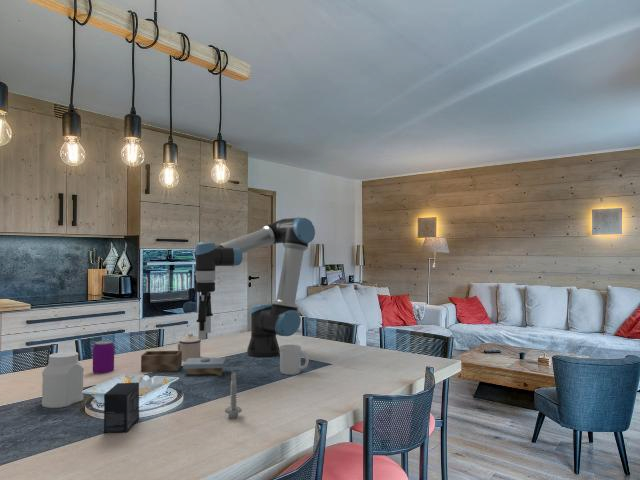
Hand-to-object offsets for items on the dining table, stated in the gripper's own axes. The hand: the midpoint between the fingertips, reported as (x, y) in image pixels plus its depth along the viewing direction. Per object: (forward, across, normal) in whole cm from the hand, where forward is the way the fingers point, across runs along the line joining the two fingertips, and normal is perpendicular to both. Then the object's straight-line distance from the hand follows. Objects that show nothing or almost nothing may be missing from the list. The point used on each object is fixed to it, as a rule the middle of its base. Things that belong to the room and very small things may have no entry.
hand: (204, 335), depth 180 cm
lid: (+11, 0, 0) cm, 11 cm away
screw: (+15, +48, +15) cm, 53 cm away
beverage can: (+15, -5, -40) cm, 43 cm away
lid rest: (+15, 0, 0) cm, 15 cm away
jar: (+15, +30, -40) cm, 52 cm away
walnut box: (+15, -6, -18) cm, 24 cm away
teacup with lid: (+15, -24, -11) cm, 30 cm away
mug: (+15, +1, +35) cm, 38 cm away
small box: (+15, +52, -15) cm, 56 cm away
